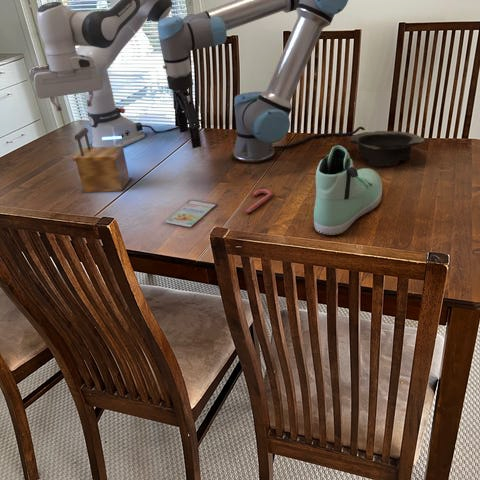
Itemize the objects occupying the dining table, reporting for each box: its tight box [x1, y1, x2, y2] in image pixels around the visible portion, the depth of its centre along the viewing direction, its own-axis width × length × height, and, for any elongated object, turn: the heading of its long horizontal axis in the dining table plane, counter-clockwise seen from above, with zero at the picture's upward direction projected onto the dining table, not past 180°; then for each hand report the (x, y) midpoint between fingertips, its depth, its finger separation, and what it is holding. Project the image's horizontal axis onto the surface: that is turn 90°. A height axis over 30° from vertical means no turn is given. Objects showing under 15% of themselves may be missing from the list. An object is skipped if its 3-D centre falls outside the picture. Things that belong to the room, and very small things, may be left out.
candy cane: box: [245, 188, 273, 215], centre depth 146 cm, size 6×15×2 cm, turn 145°
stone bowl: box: [349, 130, 426, 167], centre depth 167 cm, size 25×25×9 cm
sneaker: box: [313, 145, 383, 236], centre depth 133 cm, size 14×35×20 cm, turn 152°
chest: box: [75, 149, 130, 193], centre depth 162 cm, size 13×9×11 cm
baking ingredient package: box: [164, 200, 216, 228], centre depth 143 cm, size 9×1×15 cm
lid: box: [71, 127, 124, 162], centre depth 157 cm, size 14×9×8 cm, turn 85°
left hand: (74, 108), depth 152 cm, fingers open, 8 cm apart
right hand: (190, 139), depth 156 cm, fingers open, 13 cm apart
